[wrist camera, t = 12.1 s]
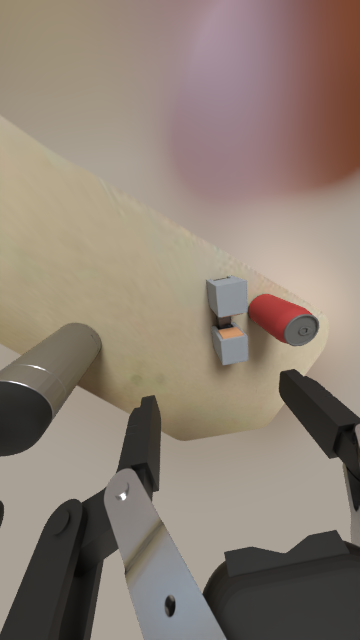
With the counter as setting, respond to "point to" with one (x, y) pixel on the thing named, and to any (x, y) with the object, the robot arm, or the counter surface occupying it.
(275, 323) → the beer can
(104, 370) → the counter surface
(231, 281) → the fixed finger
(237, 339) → the grey block
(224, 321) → the rail
